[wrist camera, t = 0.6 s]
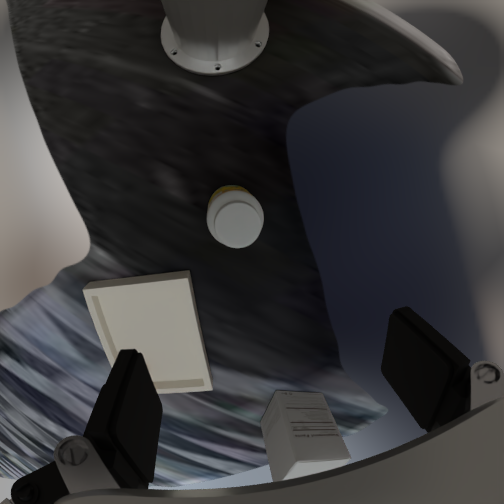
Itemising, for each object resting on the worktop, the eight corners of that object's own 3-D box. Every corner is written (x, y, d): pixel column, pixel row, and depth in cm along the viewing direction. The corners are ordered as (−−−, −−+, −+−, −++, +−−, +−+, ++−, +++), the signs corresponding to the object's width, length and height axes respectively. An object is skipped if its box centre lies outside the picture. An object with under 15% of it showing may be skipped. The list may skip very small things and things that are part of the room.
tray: (89, 281, 34) (82, 289, 32) (189, 270, 35) (187, 278, 33) (127, 383, 40) (124, 394, 38) (212, 378, 41) (212, 390, 39)
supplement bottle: (199, 211, 33) (192, 231, 24) (227, 174, 32) (231, 180, 23) (235, 238, 35) (242, 267, 26) (264, 203, 34) (281, 219, 25)
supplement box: (304, 424, 47) (325, 486, 33) (259, 422, 46) (272, 490, 31) (324, 391, 45) (353, 458, 31) (275, 388, 43) (296, 463, 29)
